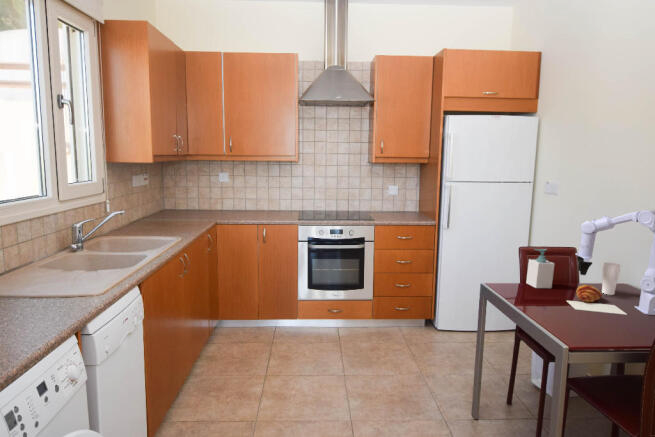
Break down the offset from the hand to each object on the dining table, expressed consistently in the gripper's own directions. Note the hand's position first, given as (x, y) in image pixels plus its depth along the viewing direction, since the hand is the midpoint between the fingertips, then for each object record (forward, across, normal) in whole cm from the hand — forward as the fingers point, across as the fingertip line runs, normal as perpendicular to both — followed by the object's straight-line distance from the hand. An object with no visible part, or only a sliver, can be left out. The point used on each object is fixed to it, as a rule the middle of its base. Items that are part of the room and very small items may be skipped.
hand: (581, 273), depth 212 cm
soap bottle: (+11, 0, -18) cm, 21 cm away
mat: (+9, +24, +4) cm, 26 cm away
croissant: (+9, +11, +3) cm, 15 cm away
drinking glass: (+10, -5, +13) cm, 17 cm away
